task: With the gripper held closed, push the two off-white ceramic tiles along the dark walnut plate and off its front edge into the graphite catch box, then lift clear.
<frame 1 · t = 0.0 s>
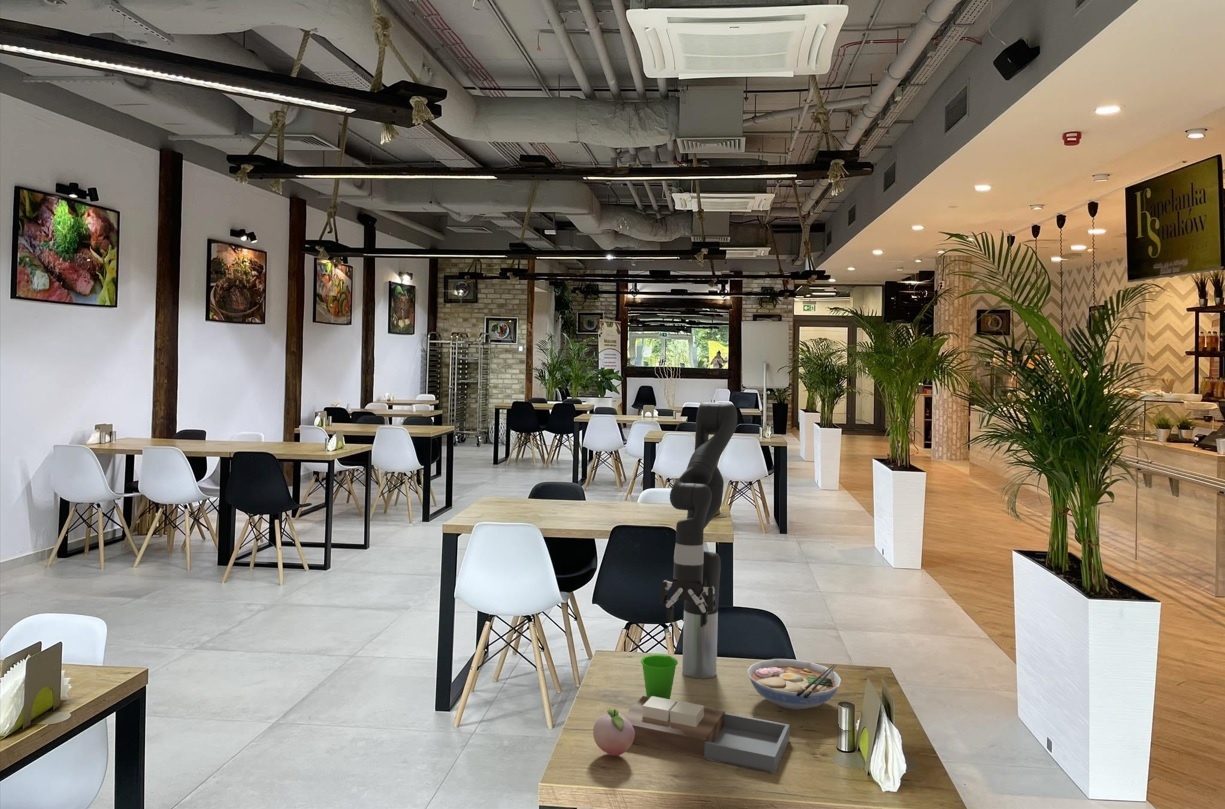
hand: (686, 624, 205), 17 cm above the table, tool pointing down, fingers open, 8 cm apart
catch box: (746, 748, 173), on the table
cup: (658, 706, 196), on the table
decorative fruit: (612, 757, 169), on the table
front tile: (687, 719, 179), point 4 cm above the table, touching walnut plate
ramen bowl: (792, 705, 198), on the table
rear tile: (659, 713, 181), point 4 cm above the table, touching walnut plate
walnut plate: (671, 733, 180), on the table
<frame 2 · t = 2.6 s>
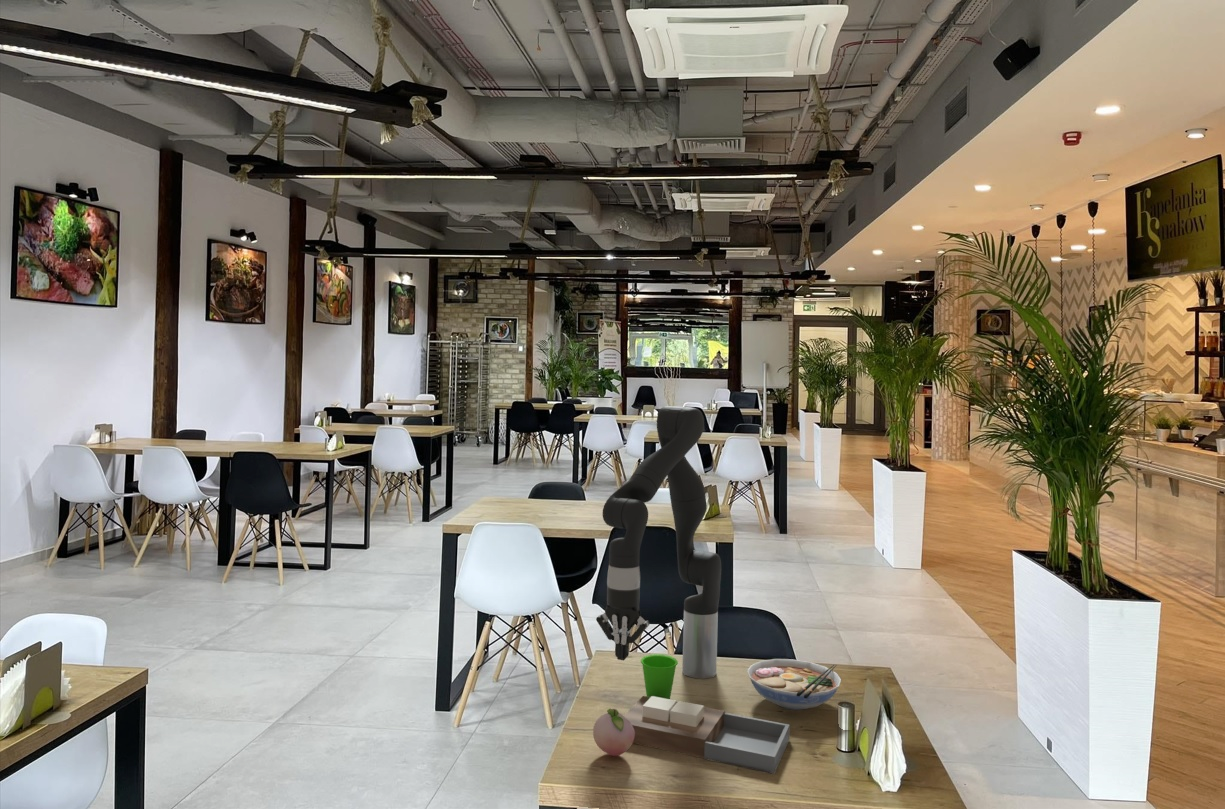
hand: (621, 658, 184), 15 cm above the table, tool pointing down, fingers closed
nothing on the table moved.
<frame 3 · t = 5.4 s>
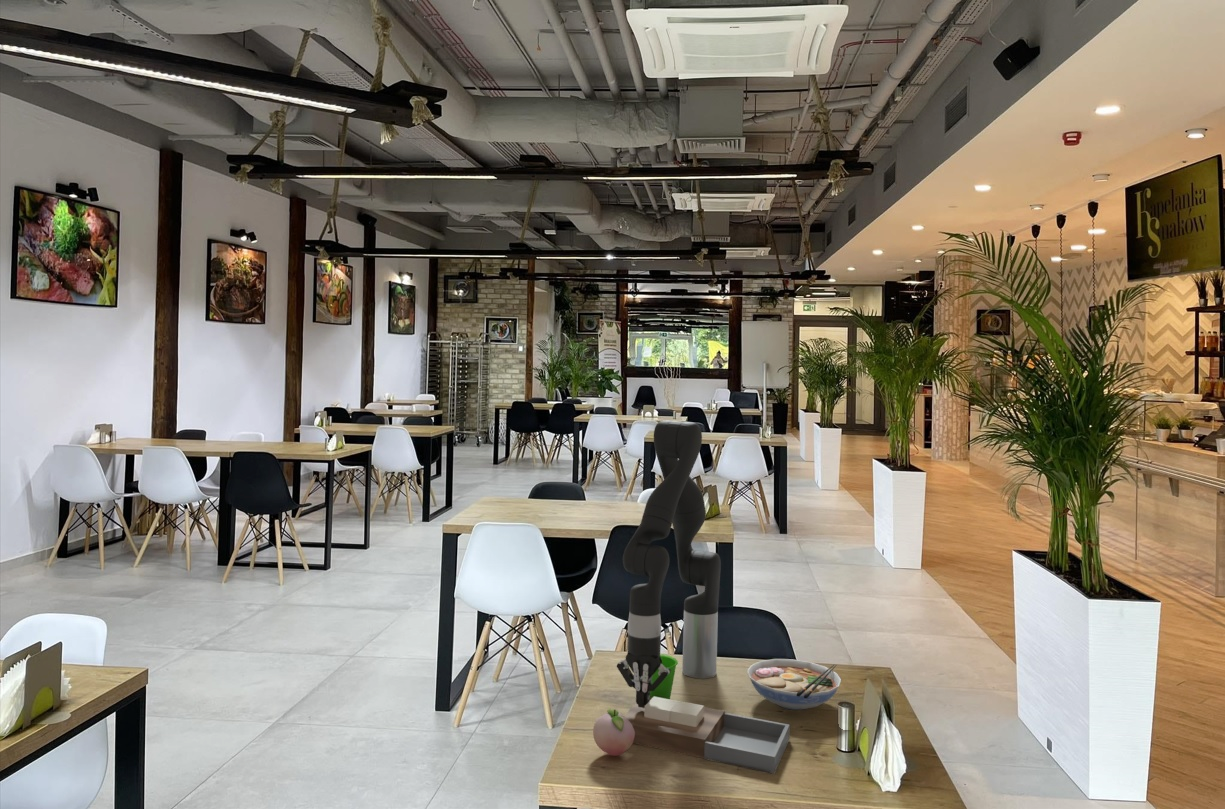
hand: (642, 706, 183), 5 cm above the table, tool pointing down, fingers closed
front tile: (687, 719, 179), point 4 cm above the table, touching rear tile
rear tile: (661, 714, 181), point 4 cm above the table, touching front tile, gripper
everything else where it was.
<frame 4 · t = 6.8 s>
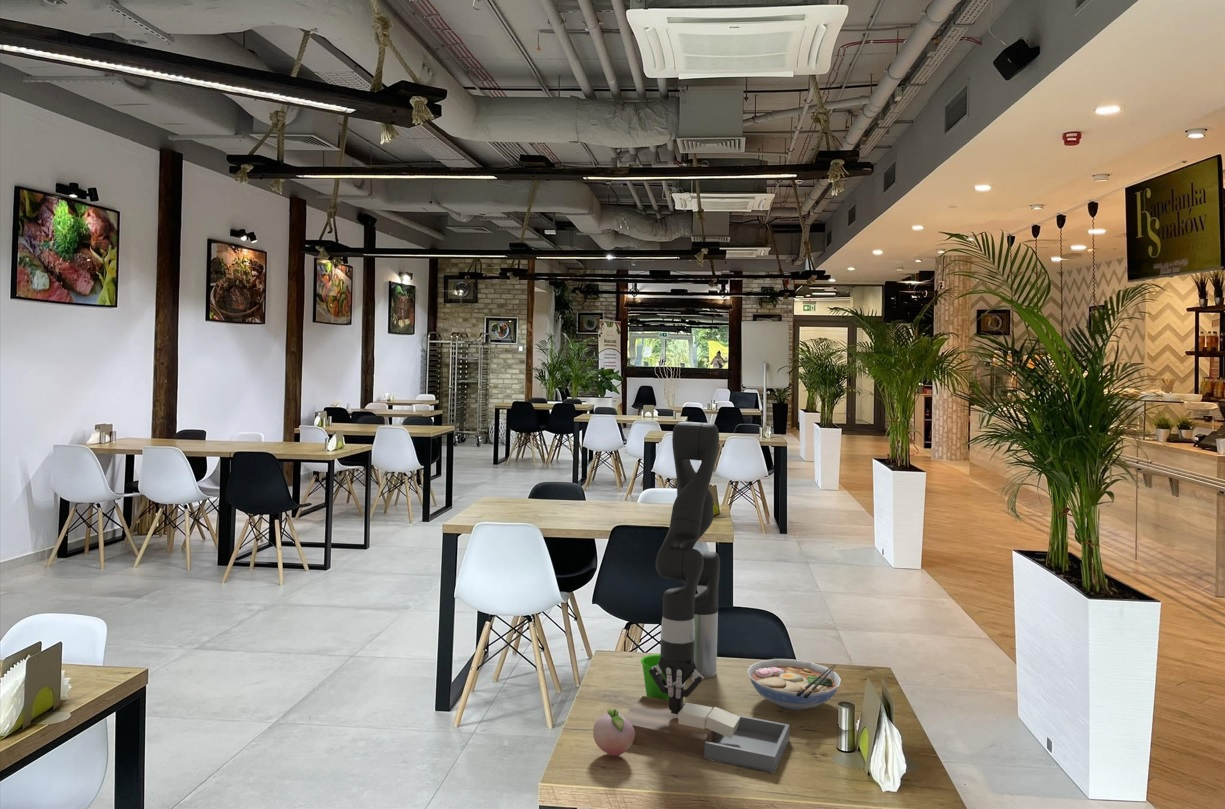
hand: (675, 712, 179), 5 cm above the table, tool pointing down, fingers closed
front tile: (721, 727, 175), point 4 cm above the table, tilted 12°
rear tile: (695, 721, 178), point 4 cm above the table, touching gripper, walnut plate
everything else where it was.
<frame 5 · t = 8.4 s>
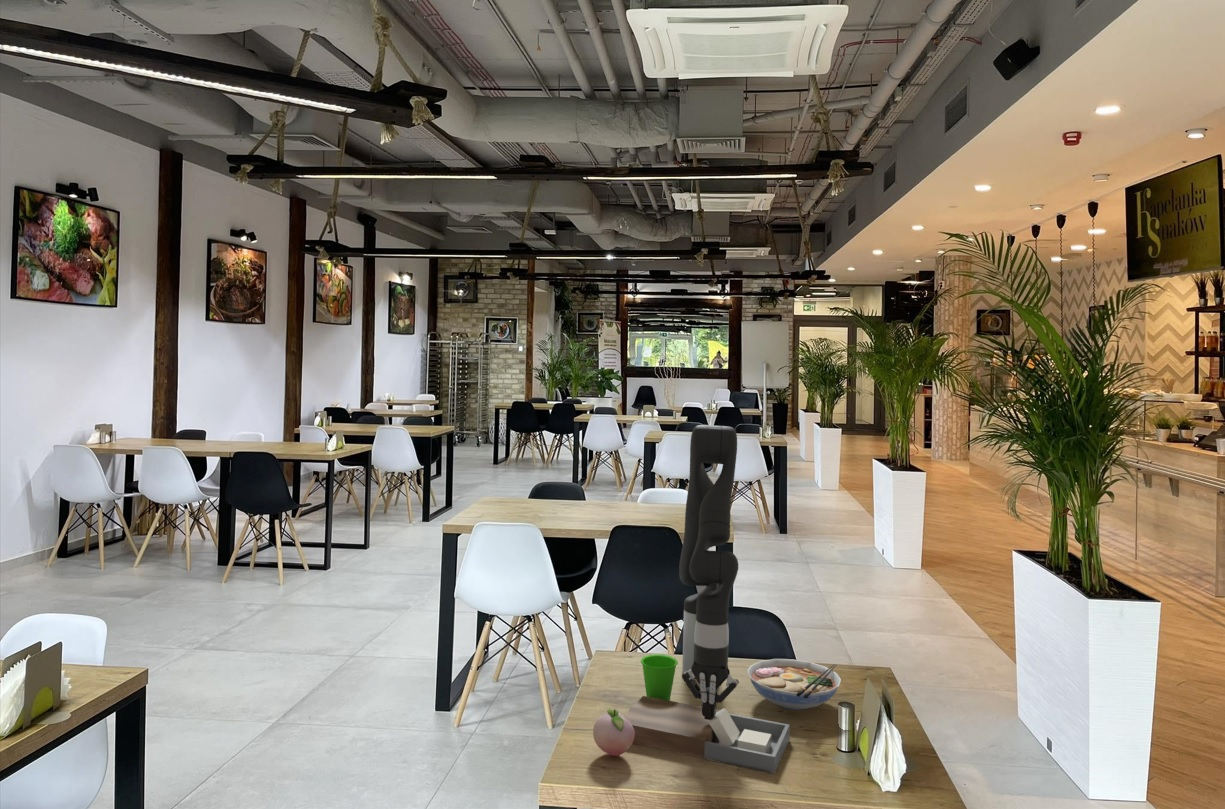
hand: (708, 718, 176), 5 cm above the table, tool pointing down, fingers closed
front tile: (754, 737, 173), point 3 cm above the table, tilted 180°, touching catch box
rear tile: (719, 730, 176), point 3 cm above the table, tilted 55°, touching catch box, gripper
everything else where it was.
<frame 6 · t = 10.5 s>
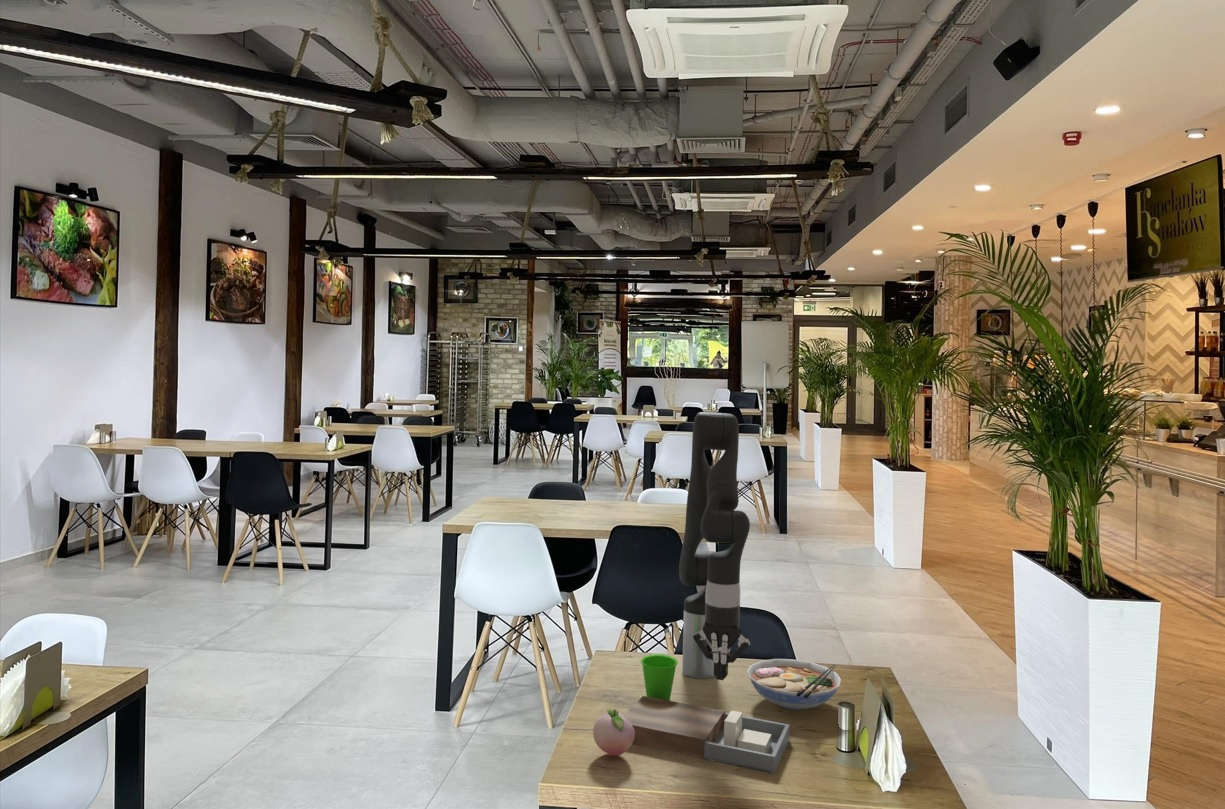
hand: (720, 678, 175), 14 cm above the table, tool pointing down, fingers closed
rear tile: (727, 729, 175), point 3 cm above the table, tilted 90°, touching catch box
everything else where it was.
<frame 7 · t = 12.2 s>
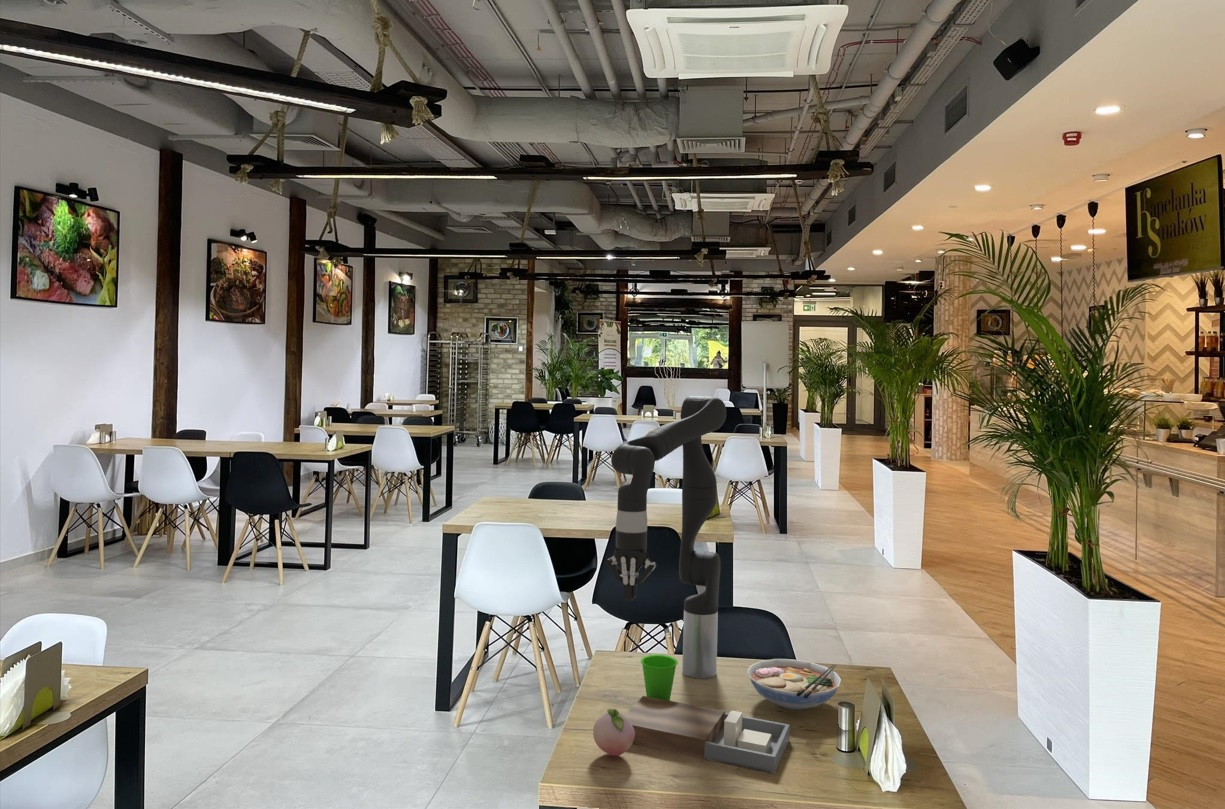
hand: (630, 599, 193), 26 cm above the table, tool pointing down, fingers closed
nothing on the table moved.
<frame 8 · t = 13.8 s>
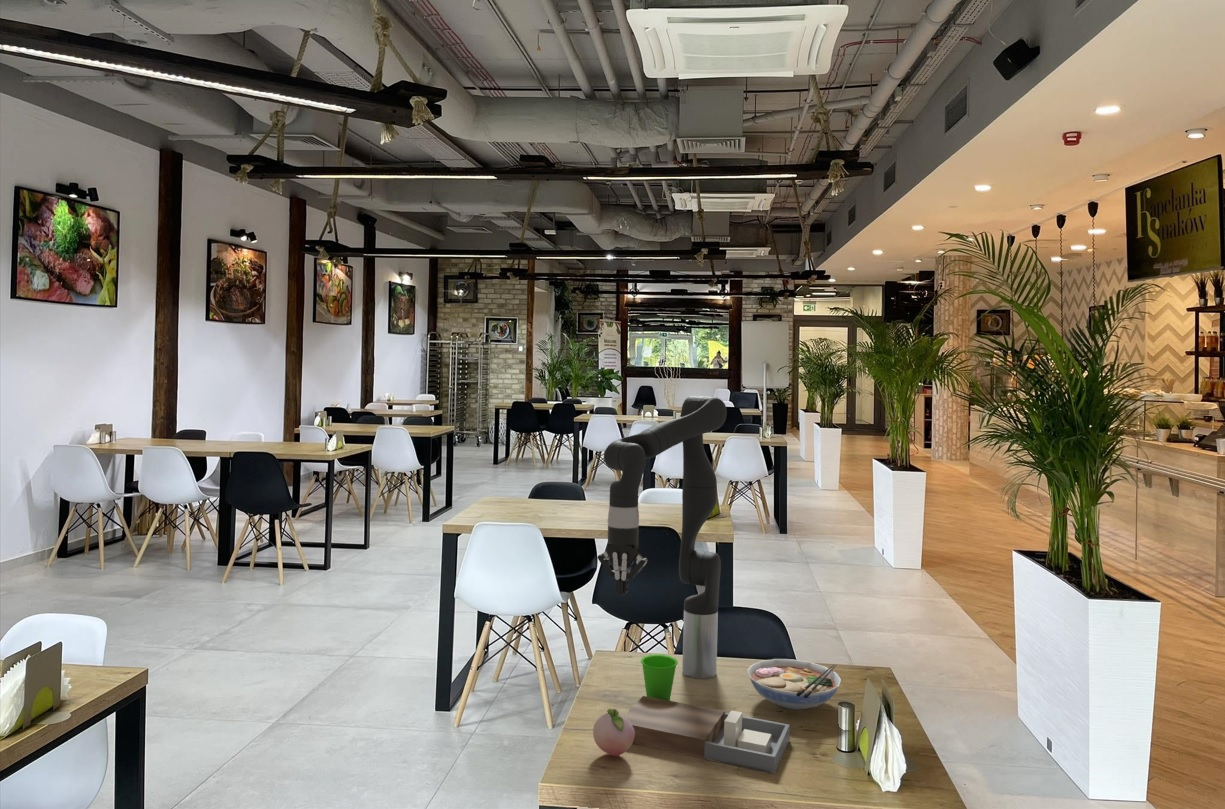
hand: (621, 594, 195), 27 cm above the table, tool pointing down, fingers closed
nothing on the table moved.
at the end: rear tile inside the target area (4.1 cm from its centre), point 3.5 cm above the table; front tile inside the target area (2.2 cm from its centre), point 3.0 cm above the table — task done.
